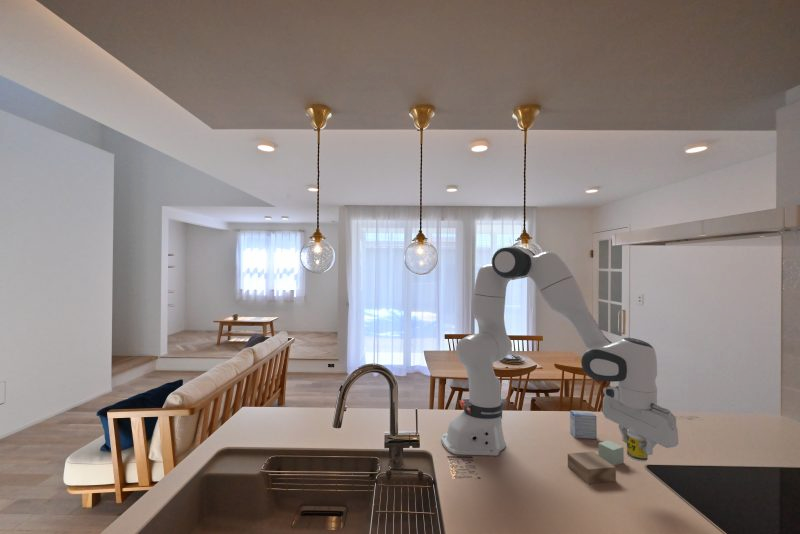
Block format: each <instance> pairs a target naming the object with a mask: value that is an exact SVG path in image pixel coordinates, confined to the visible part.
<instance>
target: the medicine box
mask: <svg viewBox="0 0 800 534" xmlns="http://www.w3.org/2000/svg"><path fill="white" fill-rule="evenodd" d="M597 420H598V419H597V415H596V414H595V413H594V412H592V411H591V410H590V411H589V410H569V423H570V425H569V429H570V430H569V433H570V434H571V435H572V436H573V438H574V439H591V440H592V439H593V440H595V439H596V440H597V437H598V432H597V427H598V426H597Z"/></svg>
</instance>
